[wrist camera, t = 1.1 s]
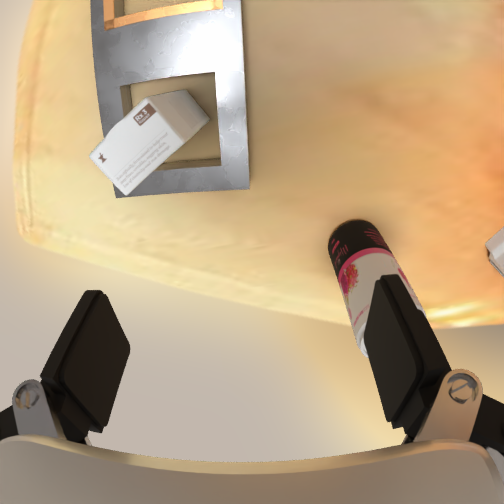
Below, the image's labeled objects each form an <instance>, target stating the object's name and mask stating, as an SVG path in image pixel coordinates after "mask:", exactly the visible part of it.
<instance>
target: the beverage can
mask: <svg viewBox="0 0 504 504" xmlns="http://www.w3.org/2000/svg"><path fill="white" fill-rule="evenodd" d="M328 251H329V255H330V258H331V261H332V264H333V267H334V270H335V273H336V276H337V279H338V282H339V285H340V289H341V292H342V295H343V298H344V301H345V305H346V308H347V311H348V315H349V318H350V321H351V325H352V328H353V332H354V335H355V339H356V342H357V345H358V347H359V349H360V350H361V352H362V353H363V355H364V356H366V357H367V358H368V354H367V351H366V348H365V345H364V338H363V337H364V331H365V327H366V322H367V318H368V314H369V309H370V305H371V300H372V295H373V291H374V286H375V281H376V280H380V277H381V276H382V275H388V274H398V275H399V276H400V278H401V280H402V281H403V283H404V285H405V287H406V288H407V290H408V292H409V294H410V296H411V298H412V299H413V301H414V303H415V305H416V307H417V309H420V310H421V311H422V312H423V313H424V315H425V317H426V314H425V311H424V310H423V308H422V306H421V304H420V302H419V300H418V298H417V296H416V294H415V293H414V291H413V289H412V287H411V285H410V284H409V282H408V280H407V278H406V276H405V275H404V273H403V271H402V269H401V268H400V266H399V264H398V263H397V261H396V259H395V257H394V256H393V254H392V252H391V251H390V249H389V247H388V246H387V244H386V243H385V241H384V239H383V238H382V236H381V234H380V233H379V231H378V230H377V228H376V227H375V226H374V225H372V224H371V223H369V222H366V221H361V220H357V221H351V222H348V223H345V224H343V225H342V226H340V227H339V228H338V229H337V230H336V231H335V232H334V233H333V235H332V236H331V238H330V241H329V245H328Z"/></svg>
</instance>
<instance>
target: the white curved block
mask: <svg viewBox="0 0 504 504" xmlns="http://www.w3.org/2000/svg"><path fill="white" fill-rule="evenodd" d="M485 246H486V248H487V249H488V250H489V252H490V256H489V259H490V261H489V262H490V263H491V264H492V265H493V266H494V267H495V268H496V270H497V271H498V272H499V273H500V274H501V275H502V276H503V277H504V227H503V228H502V229H501V230H500V231H498V232H497V233H496V234H495V235H494V236H493V237H492V238H491V239H489V240H488V241H487V242H486V243H485Z"/></svg>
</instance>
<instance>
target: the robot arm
mask: <svg viewBox="0 0 504 504" xmlns="http://www.w3.org/2000/svg"><path fill="white" fill-rule="evenodd" d="M363 338H364V345H365V348H366V351H367V354H368V358H369V361H370V364H371V367H372V371H373V374H374V378H375V381H376V385H377V388H378V392H379V395H380V399H381V402H382V406H383V410H384V414H385V417H386V420H387V422H391V423H392V427H393V429H395V428H400V427H403V428H404V432H405V434H407V435H406V437H405V438H404V440H403V442H402V444H401V445H397V446H391V447H387V448H382V449H376V450H372V451H365V452H359V453H352V454H346V455H339V456H332V457H323V458H314V459H304V460H293V461H276V462H206V461H190V460H178V459H168V458H158V457H151V456H144V455H137V454H130V453H124V452H119V451H113V450H108V449H103V448H98V447H93V446H92V444H91V442H90V440H89V438H88V436H87V435H88V431H89V430H90V431H93V432H98V433H102V431H103V428H104V427H105V426H107V424H108V421H109V417H110V414H111V410H112V407H113V404H114V401H115V397H116V394H117V391H118V388H119V384H120V381H121V378H122V375H123V372H124V369H125V366H126V363H127V359H128V357H129V354H130V344H129V342H128V340H127V338H126V336H125V334H124V332H123V330H122V328H121V326H120V323H119V321H118V319H117V317H116V315H115V312H114V310H113V308H112V306H111V304H110V301H109V299H108V297H107V296H106V294H103V292H102V291H101V290H87V291H85V293H84V294H83V296H82V297H81V299H80V301H79V302H78V304H77V306H76V308H75V309H74V311H73V313H72V315H71V317H70V318H69V320H68V322H67V324H66V326H65V327H64V329H63V331H62V333H61V335H60V337H59V339H58V341H57V342H56V344H55V346H54V348H53V350H52V352H51V354H50V356H49V358H48V360H47V362H46V364H45V367H44V368H43V371H42V373H41V375H40V377H41V378H42V380H41V382H39V381H37V380H34V379H31V380H27V381H24V382H22V383H21V384H20V385H19V386H18V387H17V388H16V390H15V391H14V393H13V397H12V406H10V407H9V408H7V409H5V410H3V411H2V412H0V504H504V404H503V403H501V402H499V401H497V400H495V399H492V398H490V397H488V396H486V395H484V394H483V388H482V384H481V382H480V380H479V378H478V377H477V376H476V375H475V374H474V373H472V372H470V371H469V370H464V369H455V370H451V368H450V365H449V363H448V361H447V359H446V357H445V355H444V353H443V350H442V348H441V346H440V344H439V342H438V340H437V338H436V336H435V334H434V332H433V330H432V328H431V326H430V324H429V322H428V321H427V319H426V317H425V315H424V313H423V312H422V311H421V310H420V309H417V307H416V305H415V303H414V301H413V299H412V298H411V296H410V294H409V292H408V290H407V288H406V287H405V285H404V283H403V281H402V280H401V278H400V276H399V275H398V274H388V275H382V276H381V277H380V280H376V281H375V286H374V291H373V295H372V300H371V305H370V309H369V314H368V318H367V322H366V327H365V331H364V337H363Z"/></svg>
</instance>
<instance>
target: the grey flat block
mask: <svg viewBox="0 0 504 504" xmlns="http://www.w3.org/2000/svg"><path fill="white" fill-rule="evenodd" d="M91 29H92V45H93V58H94V69H95V78H96V87H97V95H98V103H99V110H100V117H101V123H102V129H103V135H104V138H105V137H106V136H107V134H108V133H109V131H110V130H111V129H112V128H113V127H114V126H115V125H116V124H117V123H118V122H120V121H121V120H122V119H123V118H124V117H125V116H126V115H127V114H128V113H129V112H130V111H131V110H132V102H131V93H130V84H132V83H137V82H143V81H148V80H154V79H160V78H167V77H174V76H181V75H189V74H198V73H208V72H215V81H216V96H217V111H218V124H219V138H220V151H221V159H208V160H194V161H182V162H170V163H162V164H161V165H160V166H158V167H157V168H156V169H155V170H154V171H153V172H152V173H151V174H150V175H148V176H147V177H146V178H145V179H144V180H143V181H142V182H141V183H140V184H139V185H138V186H137V187H136V188H135V189H134V190H132V191H131V192H130V193H129V194H128V195H127V196H126V195H124V194H123V193H122V192H121V191H120V190H119V189H118V188H117V187H116V186H115V185H114V184H113V186H114V191H115V195H116V198H122V197H133V196H144V195H157V194H170V193H184V192H201V191H219V190H242V189H250V170H249V149H248V127H247V106H246V85H245V65H244V44H243V23H242V3H241V0H207V1H198V2H191V3H184V4H178V5H172V6H166V7H161V8H156V9H151V10H147V11H142V12H138V13H134V14H130V15H126V16H124V0H91Z"/></svg>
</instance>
